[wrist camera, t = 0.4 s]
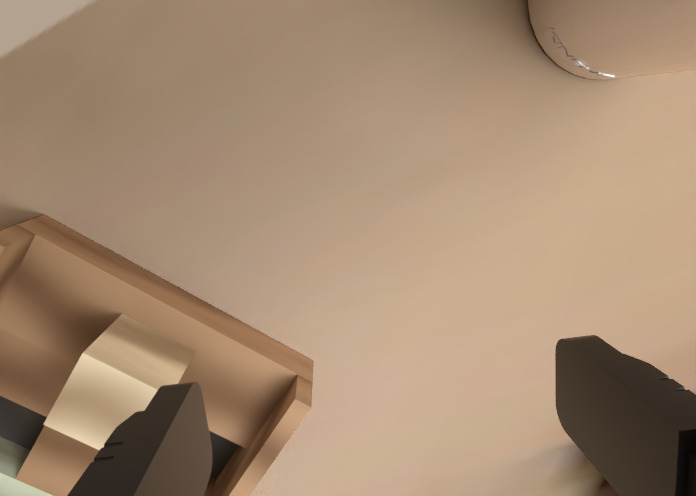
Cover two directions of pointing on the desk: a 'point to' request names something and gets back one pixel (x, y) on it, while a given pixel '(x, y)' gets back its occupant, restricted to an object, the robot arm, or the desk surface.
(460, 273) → the desk surface
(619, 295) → the desk surface
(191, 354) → the birch block
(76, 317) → the tray
